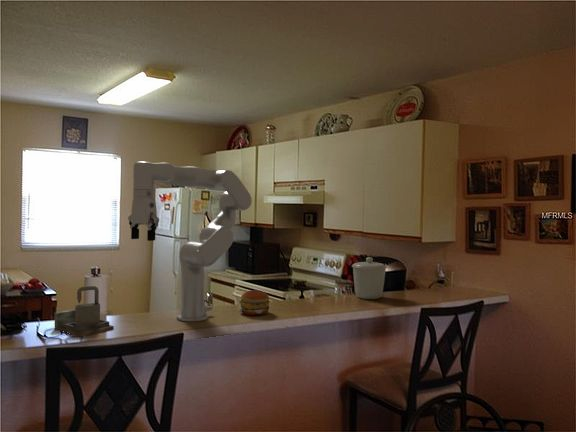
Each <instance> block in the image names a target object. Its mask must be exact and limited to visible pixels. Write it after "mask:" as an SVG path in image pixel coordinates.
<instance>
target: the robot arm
mask: <svg viewBox="0 0 576 432" xmlns="http://www.w3.org/2000/svg"><path fill="white" fill-rule="evenodd" d="M155 183H156V184H163V185H173V186H180V187H184V188H185V187H186V188H195V189H203V190H210V191H224V192H222V193H221V194H220V196H219V199H218V200H219V201H218V204H219V208H218V209H219V210H218V214H216V217H214V218H213V219H212V220H211V221H210V222H209V224H207V225H206V226H205V227H204V228H203V229H202V230H201V232H200V233H199V238H198V239H199V241H187V242H185V243H184V244H182V246H181V247H180V250H179V263H180V271H181V274H180V275H181V278H180V280H181V281H180V283H181V285H180V286H181V287H180V289H181V290H180V313H178V314H177V315H176V319H177V320H179V321H180V322H181V321H183V322H200V321H204V320H207V319H208V318H209V314H208V313H207V312H211V311H212V310H213V306H212V305H210V306H209V305H208V306H206V305H205V290H206V289H205V288H206V287H205V286H206V284H205V283H206V275H205V268H207V267H210V266H213V265H214V264H215V263H216V262H217V261H218V260H219V259H220V258H222V256H223V255H224V254H225V253H226V252H227V251H228V250H229V249H230V247H231V246H232V245H233V243H234V232H233V230H232V229H233V228H234V227H235V224H236V220H237V217H236V216H237V215H236V212H237V211H240V212H241V211H247V210H248V209H249V208H250V207H251V205H252V196H251V194H250V192H249V191H248V189H247V188H246V186H245V185H244V183H243V182H242V180H241V179H240V178H239V177H238V176H237V175H236V174H235V172H234V171H232V170H230V169H221V170H220V169H218V170H217V169H212V168H205V167H200V166H199V167H198V166H191V165H190V166H175V165H173V164H172V163H169V162H150V161H136V162H134V163H133V181H132V184H133V186H132V188H133V189H132V191H133V192H132V195H133V196H132V202H131V203H132V204H131V211H130V212H131V214H130V215H129V216H128V217H127V219H128V224H129V227H130V231H131V235H130V239H131V240H139V239H140V228H139V227H140V225H144V226H147V228H148V229H147V239H146V240H147V241H148V242H150V241H151V242H154V241H156V230H157V227H158V226H159V222H160V218H159V217H158V213H157V212H158V211H157V210H158V209H157V202H156V199H155Z"/></svg>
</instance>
